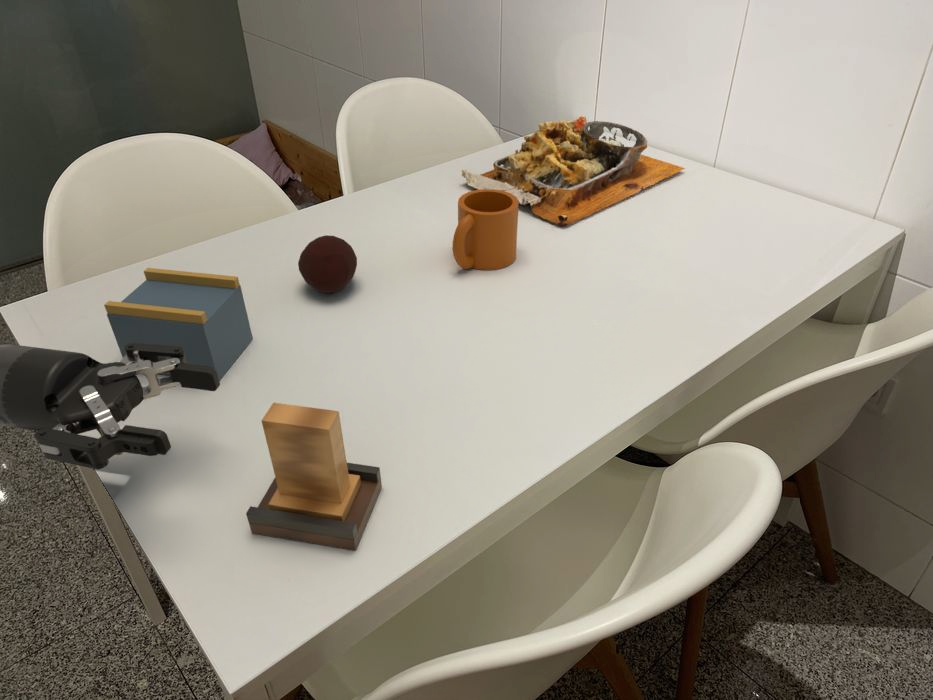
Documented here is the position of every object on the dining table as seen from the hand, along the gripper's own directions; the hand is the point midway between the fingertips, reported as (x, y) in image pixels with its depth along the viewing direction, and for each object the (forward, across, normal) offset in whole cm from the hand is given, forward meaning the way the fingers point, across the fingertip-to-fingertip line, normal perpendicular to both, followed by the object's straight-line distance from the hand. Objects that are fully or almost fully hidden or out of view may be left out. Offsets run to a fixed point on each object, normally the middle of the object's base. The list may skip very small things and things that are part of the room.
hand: (193, 409), depth 61 cm
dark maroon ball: (-3, +39, +11) cm, 40 cm away
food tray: (+28, +85, +11) cm, 90 cm away
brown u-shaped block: (+10, 0, +10) cm, 15 cm away
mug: (+16, +51, +11) cm, 54 cm away
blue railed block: (-14, +20, +11) cm, 27 cm away
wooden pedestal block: (+10, 0, +9) cm, 14 cm away
